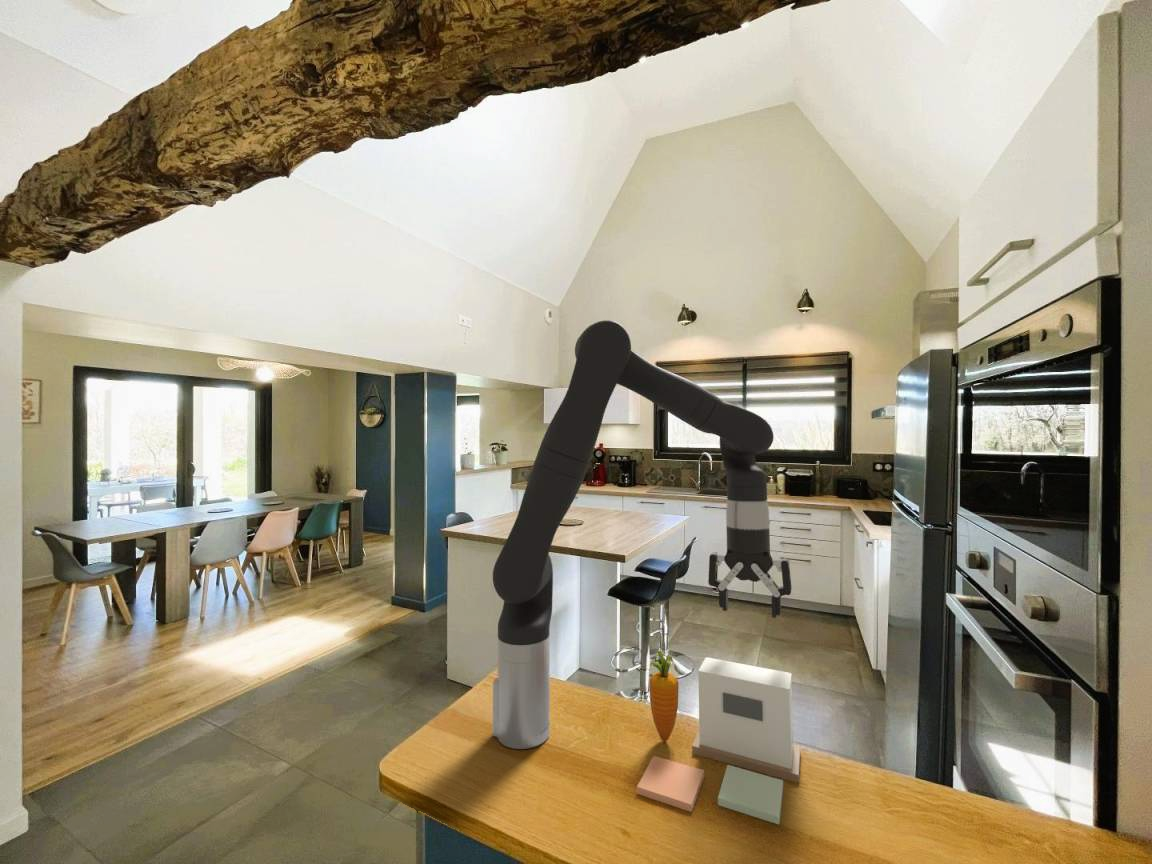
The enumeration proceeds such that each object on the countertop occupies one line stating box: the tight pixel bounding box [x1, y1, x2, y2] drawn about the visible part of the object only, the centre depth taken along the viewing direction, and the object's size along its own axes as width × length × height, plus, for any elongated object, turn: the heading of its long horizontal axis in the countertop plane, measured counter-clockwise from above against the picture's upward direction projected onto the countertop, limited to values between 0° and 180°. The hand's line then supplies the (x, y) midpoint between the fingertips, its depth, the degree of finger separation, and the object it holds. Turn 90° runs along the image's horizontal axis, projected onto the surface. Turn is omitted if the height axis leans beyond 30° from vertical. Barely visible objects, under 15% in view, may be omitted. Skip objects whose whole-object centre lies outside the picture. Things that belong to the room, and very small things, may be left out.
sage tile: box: [717, 764, 784, 826], centre depth 69 cm, size 8×8×1 cm
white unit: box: [691, 656, 801, 784], centre depth 79 cm, size 16×8×13 cm, turn 63°
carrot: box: [648, 649, 679, 743], centre depth 82 cm, size 5×5×15 cm
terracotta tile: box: [636, 755, 705, 813], centre depth 71 cm, size 8×8×1 cm
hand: (749, 613), depth 87 cm, fingers open, 8 cm apart
